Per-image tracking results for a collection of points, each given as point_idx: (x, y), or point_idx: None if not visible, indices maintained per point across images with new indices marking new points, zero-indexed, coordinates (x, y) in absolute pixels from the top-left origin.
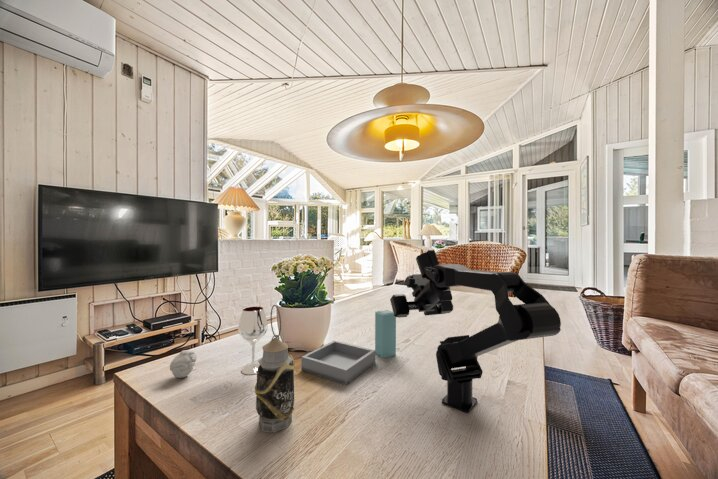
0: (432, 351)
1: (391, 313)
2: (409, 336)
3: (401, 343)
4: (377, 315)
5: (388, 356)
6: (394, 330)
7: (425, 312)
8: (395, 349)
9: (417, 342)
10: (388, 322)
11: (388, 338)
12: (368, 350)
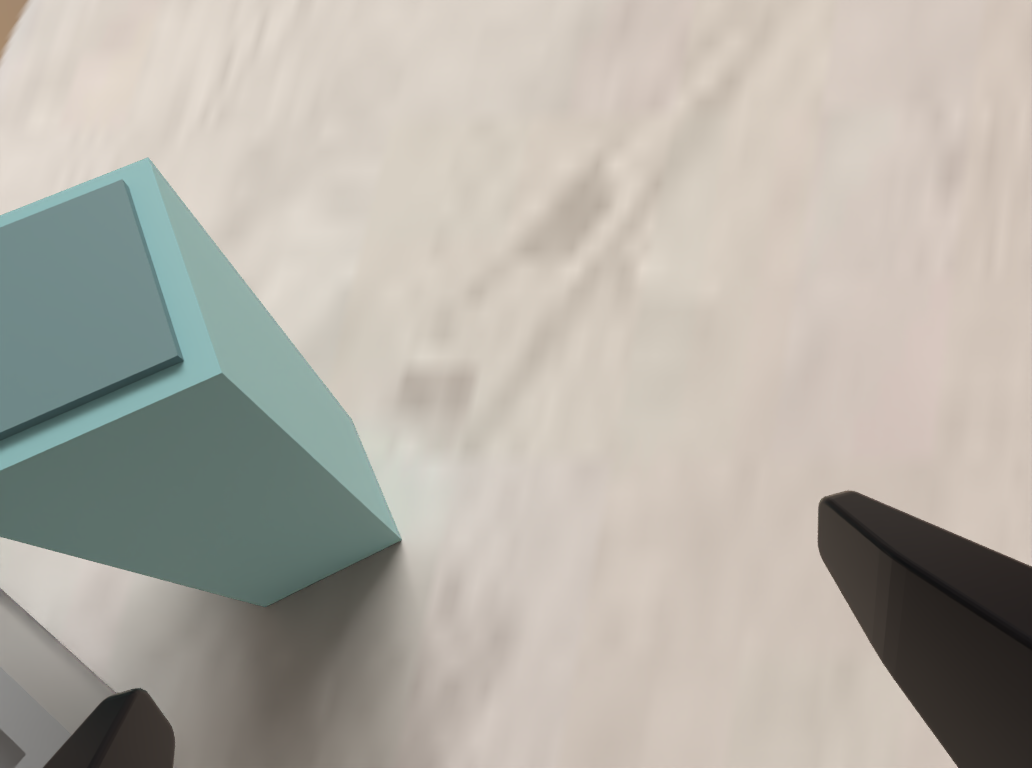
0: (777, 452)
1: (126, 386)
2: (614, 128)
3: (512, 274)
4: None
5: (322, 577)
6: (306, 481)
7: (868, 578)
8: (386, 528)
9: (664, 251)
10: (135, 496)
11: (250, 545)
12: (5, 733)
